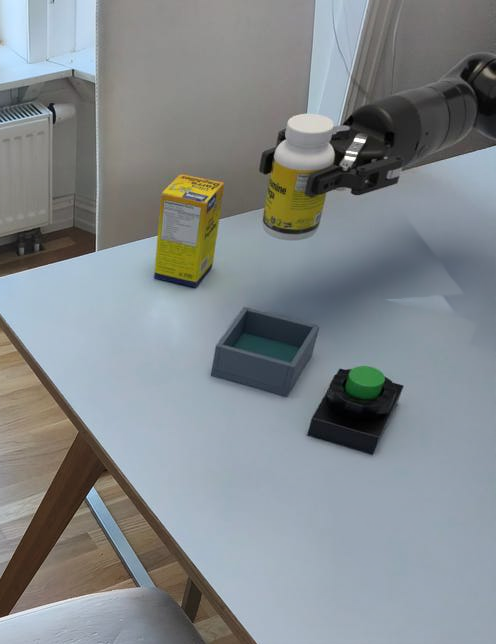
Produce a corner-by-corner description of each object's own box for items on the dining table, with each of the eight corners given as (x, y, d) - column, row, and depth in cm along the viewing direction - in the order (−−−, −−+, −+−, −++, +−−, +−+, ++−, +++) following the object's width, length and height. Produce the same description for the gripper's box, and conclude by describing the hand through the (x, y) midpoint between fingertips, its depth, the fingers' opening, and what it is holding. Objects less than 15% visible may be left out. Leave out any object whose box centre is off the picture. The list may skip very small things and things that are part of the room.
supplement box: (212, 267, 115) (225, 181, 107) (195, 289, 112) (207, 202, 104) (170, 257, 117) (180, 172, 109) (152, 278, 114) (161, 192, 105)
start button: (384, 385, 92) (389, 371, 91) (374, 404, 90) (379, 390, 89) (350, 376, 94) (354, 362, 92) (340, 394, 92) (344, 380, 90)
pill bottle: (255, 218, 100) (273, 112, 92) (308, 214, 101) (331, 108, 92) (268, 244, 97) (288, 137, 88) (324, 240, 97) (350, 132, 88)
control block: (397, 402, 96) (409, 370, 93) (373, 454, 91) (384, 423, 88) (334, 384, 99) (343, 353, 96) (306, 435, 93) (315, 403, 90)
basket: (312, 355, 102) (320, 325, 99) (287, 396, 98) (294, 367, 95) (238, 335, 105) (243, 306, 102) (210, 375, 100) (215, 345, 98)
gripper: (354, 76, 99) (243, 114, 94) (459, 116, 91) (346, 161, 86) (337, 147, 105) (232, 187, 99) (435, 190, 97) (327, 236, 92)
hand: (285, 175), depth 93 cm, fingers closed on pill bottle, 6 cm apart
